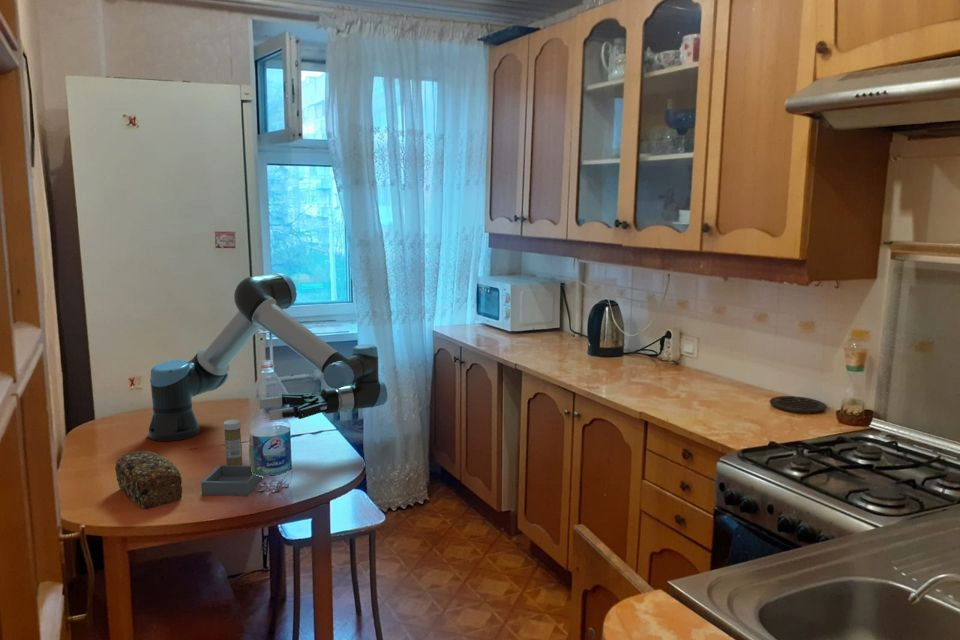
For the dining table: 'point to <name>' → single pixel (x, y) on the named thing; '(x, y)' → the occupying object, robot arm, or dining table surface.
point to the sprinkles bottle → (233, 442)
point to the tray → (230, 481)
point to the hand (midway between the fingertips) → (264, 409)
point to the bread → (148, 478)
